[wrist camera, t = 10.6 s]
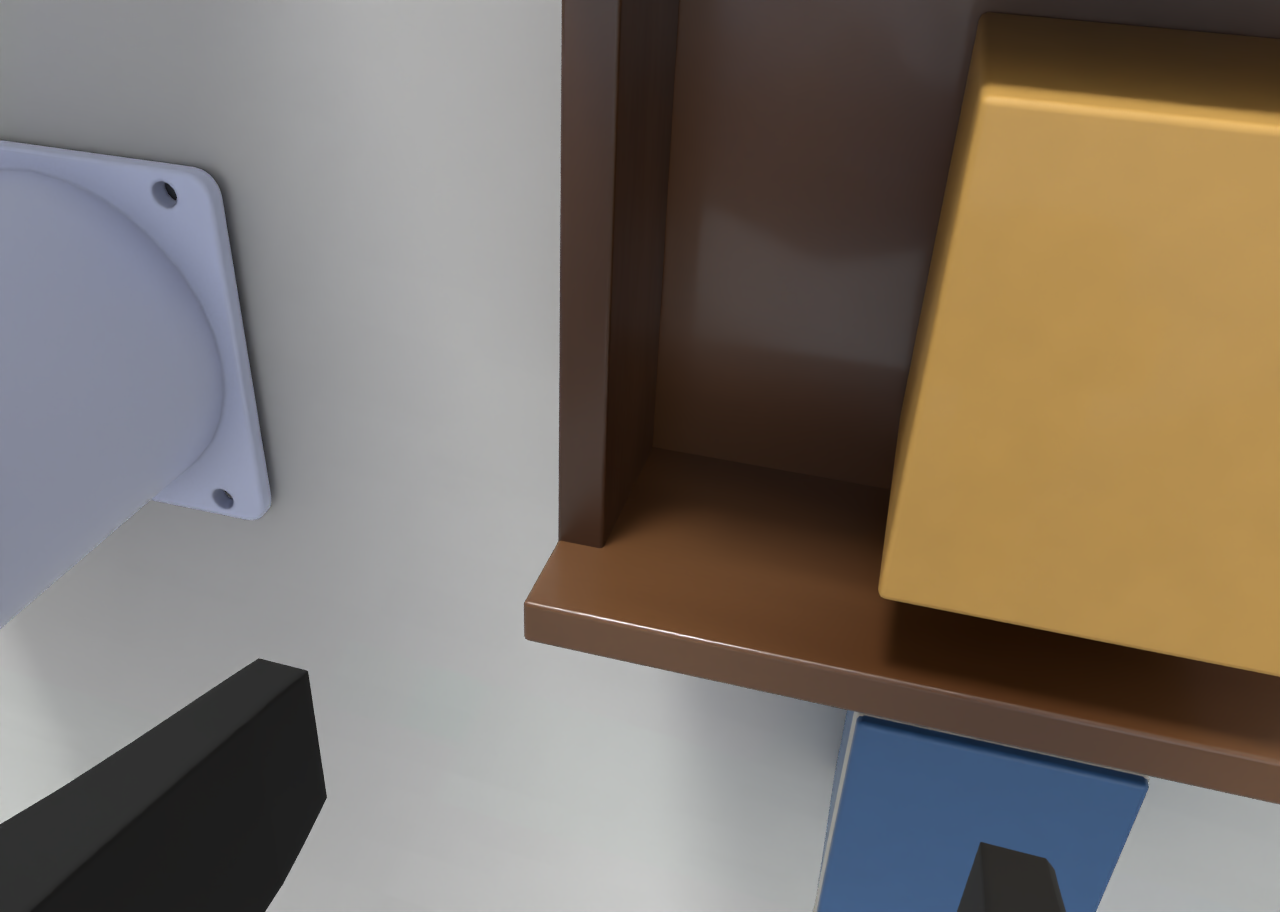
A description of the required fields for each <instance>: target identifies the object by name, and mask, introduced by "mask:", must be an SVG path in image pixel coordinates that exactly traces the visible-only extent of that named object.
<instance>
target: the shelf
mask: <svg viewBox="0 0 1280 912" xmlns="http://www.w3.org/2000/svg"><path fill="white" fill-rule="evenodd" d="M988 12H991V13H1001V14H1012V15H1023V16H1034V17H1045V18H1056V19H1067V20H1077V21H1088V22H1099V23H1110V24H1121V25H1132V26H1143V27H1154V28H1164V29H1175V30H1186V31H1197V32H1208V33H1219V34H1230V35H1240V36H1251V37H1262V38H1273V39H1280V0H562V53H561V215H560V378H559V540H558V543H557V545H556V547H555V549H554V550H553V552H552V554H551V556H550V558H549V559H548V561H547V563H546V565H545V566H544V568H543V570H542V572H541V574H540V575H539V577H538V579H537V581H536V583H535V584H534V586H533V588H532V590H531V592H530V593H529V595H528V597H527V599H526V600H525V602H524V636H525V639H527V640H530V641H534V642H539V643H543V644H548V645H553V646H557V647H562V648H566V649H571V650H575V651H580V652H585V653H589V654H594V655H598V656H603V657H607V658H612V659H617V660H621V661H626V662H630V663H635V664H639V665H644V666H649V667H653V668H658V669H662V670H667V671H672V672H676V673H681V674H685V675H690V676H694V677H699V678H704V679H708V680H713V681H717V682H722V683H726V684H731V685H736V686H740V687H745V688H749V689H754V690H758V691H763V692H768V693H772V694H777V695H781V696H786V697H790V698H795V699H800V700H804V701H809V702H813V703H818V704H823V705H827V706H832V707H836V708H841V709H845V710H850V711H855V712H859V713H864V714H868V715H873V716H877V717H882V718H887V719H891V720H896V721H900V722H905V723H909V724H914V725H919V726H923V727H928V728H932V729H937V730H941V731H946V732H951V733H955V734H960V735H964V736H969V737H974V738H978V739H983V740H987V741H992V742H996V743H1001V744H1006V745H1010V746H1015V747H1019V748H1024V749H1028V750H1033V751H1038V752H1042V753H1047V754H1051V755H1056V756H1060V757H1065V758H1070V759H1074V760H1079V761H1083V762H1088V763H1092V764H1097V765H1102V766H1106V767H1111V768H1115V769H1120V770H1125V771H1129V772H1134V773H1138V774H1143V775H1147V776H1152V777H1157V778H1161V779H1166V780H1170V781H1175V782H1179V783H1184V784H1189V785H1193V786H1198V787H1202V788H1207V789H1211V790H1216V791H1221V792H1225V793H1230V794H1234V795H1239V796H1243V797H1248V798H1253V799H1257V800H1262V801H1266V802H1271V803H1276V804H1280V677H1278V676H1273V675H1268V674H1263V673H1258V672H1253V671H1248V670H1243V669H1238V668H1233V667H1228V666H1223V665H1218V664H1213V663H1207V662H1202V661H1197V660H1192V659H1187V658H1182V657H1177V656H1172V655H1167V654H1162V653H1157V652H1152V651H1147V650H1142V649H1137V648H1132V647H1126V646H1121V645H1116V644H1111V643H1106V642H1101V641H1096V640H1091V639H1086V638H1081V637H1076V636H1071V635H1066V634H1061V633H1056V632H1050V631H1045V630H1040V629H1035V628H1030V627H1025V626H1020V625H1015V624H1010V623H1005V622H1000V621H995V620H990V619H985V618H980V617H975V616H969V615H964V614H959V613H954V612H949V611H944V610H939V609H934V608H929V607H924V606H919V605H914V604H909V603H904V602H899V601H893V600H888V599H884V598H882V597H880V594H879V591H878V586H879V578H880V570H881V562H882V555H883V547H884V539H885V531H886V523H887V516H888V508H889V500H890V492H891V484H892V477H893V469H894V461H895V453H896V445H897V438H898V430H899V422H900V415H901V410H902V405H903V400H904V395H905V390H906V385H907V380H908V375H909V370H910V365H911V360H912V355H913V350H914V345H915V340H916V335H917V329H918V324H919V319H920V314H921V309H922V304H923V299H924V294H925V289H926V284H927V279H928V274H929V269H930V264H931V259H932V254H933V249H934V244H935V239H936V234H937V229H938V224H939V219H940V214H941V209H942V203H943V198H944V193H945V188H946V183H947V178H948V173H949V168H950V163H951V158H952V153H953V148H954V143H955V138H956V133H957V128H958V123H959V118H960V113H961V108H962V103H963V98H964V93H965V88H966V83H967V77H968V72H969V67H970V62H971V57H972V52H973V47H974V42H975V37H976V32H977V27H978V22H979V19H980V17H981V16H982V14H985V13H988Z"/></svg>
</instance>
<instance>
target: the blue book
mask: <svg viewBox="0 0 1280 912" xmlns="http://www.w3.org/2000/svg"><path fill="white" fill-rule="evenodd" d="M1148 782H1149V776H1147V775H1143V774H1138V773H1134V772H1129V771H1125V770H1120V769H1115V768H1111V767H1106V766H1102V765H1097V764H1092V763H1088V762H1083V761H1079V760H1074V759H1070V758H1065V757H1060V756H1056V755H1051V754H1047V753H1042V752H1038V751H1033V750H1028V749H1024V748H1019V747H1015V746H1010V745H1006V744H1001V743H996V742H992V741H987V740H983V739H978V738H974V737H969V736H964V735H960V734H955V733H951V732H946V731H941V730H937V729H932V728H928V727H923V726H919V725H914V724H909V723H905V722H900V721H896V720H891V719H887V718H882V717H877V716H873V715H868V714H864V713H859V712H855V711H850V710H847V714H846V719H845V724H844V729H843V734H842V739H841V744H840V749H839V754H838V759H837V764H836V769H835V776H834V783H833V789H832V796H831V803H830V809H829V816H828V823H827V829H826V836H825V842H824V849H823V856H822V862H821V869H820V876H819V882H818V889H817V894H816V899H815V904H814V909H813V912H957V910H958V907H959V904H960V901H961V898H962V895H963V892H964V889H965V886H966V883H967V880H968V877H969V874H970V871H971V868H972V865H973V862H974V859H975V856H976V853H977V850H978V847H979V844H980V842H984V843H988V844H991V845H995V846H999V847H1003V848H1007V849H1011V850H1015V851H1019V852H1023V853H1027V854H1031V855H1035V856H1039V857H1043V858H1046V859H1047V860H1048V862H1049V863H1050V864H1051V865H1052V867H1053V868H1054V869H1055V873H1056V877H1057V881H1058V885H1059V889H1060V892H1061V896H1062V899H1063V903H1064V906H1065V910H1066V912H1096V910H1097V908H1098V906H1099V903H1100V901H1101V899H1102V896H1103V894H1104V892H1105V889H1106V887H1107V885H1108V882H1109V880H1110V877H1111V875H1112V873H1113V870H1114V868H1115V866H1116V863H1117V861H1118V859H1119V856H1120V854H1121V852H1122V849H1123V847H1124V845H1125V842H1126V840H1127V838H1128V835H1129V833H1130V831H1131V828H1132V826H1133V824H1134V821H1135V819H1136V817H1137V814H1138V812H1139V810H1140V807H1141V805H1142V803H1143V800H1144V798H1145V796H1146V793H1147V791H1148V788H1149V785H1148Z"/></svg>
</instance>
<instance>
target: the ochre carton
mask: <svg viewBox="0 0 1280 912" xmlns="http://www.w3.org/2000/svg"><path fill="white" fill-rule="evenodd" d="M878 591H879V594H880V597H882V598H884V599H888V600H893V601H899V602H904V603H909V604H914V605H919V606H924V607H929V608H934V609H939V610H944V611H949V612H954V613H959V614H964V615H969V616H975V617H980V618H985V619H990V620H995V621H1000V622H1005V623H1010V624H1015V625H1020V626H1025V627H1030V628H1035V629H1040V630H1045V631H1050V632H1056V633H1061V634H1066V635H1071V636H1076V637H1081V638H1086V639H1091V640H1096V641H1101V642H1106V643H1111V644H1116V645H1121V646H1126V647H1132V648H1137V649H1142V650H1147V651H1152V652H1157V653H1162V654H1167V655H1172V656H1177V657H1182V658H1187V659H1192V660H1197V661H1202V662H1207V663H1213V664H1218V665H1223V666H1228V667H1233V668H1238V669H1243V670H1248V671H1253V672H1258V673H1263V674H1268V675H1273V676H1278V677H1280V39H1273V38H1262V37H1251V36H1240V35H1230V34H1219V33H1208V32H1197V31H1186V30H1175V29H1164V28H1154V27H1143V26H1132V25H1121V24H1110V23H1099V22H1088V21H1077V20H1067V19H1056V18H1045V17H1034V16H1023V15H1012V14H1001V13H991V12H988V13H985V14H982V16H981V17H980V19H979V22H978V27H977V32H976V37H975V42H974V47H973V52H972V57H971V62H970V67H969V72H968V77H967V83H966V88H965V93H964V98H963V103H962V108H961V113H960V118H959V123H958V128H957V133H956V138H955V143H954V148H953V153H952V158H951V163H950V168H949V173H948V178H947V183H946V188H945V193H944V198H943V203H942V209H941V214H940V219H939V224H938V229H937V234H936V239H935V244H934V249H933V254H932V259H931V264H930V269H929V274H928V279H927V284H926V289H925V294H924V299H923V304H922V309H921V314H920V319H919V324H918V329H917V335H916V340H915V345H914V350H913V355H912V360H911V365H910V370H909V375H908V380H907V385H906V390H905V395H904V400H903V405H902V410H901V415H900V422H899V430H898V438H897V445H896V453H895V461H894V469H893V477H892V484H891V492H890V500H889V508H888V516H887V523H886V531H885V539H884V547H883V555H882V562H881V570H880V578H879V586H878Z"/></svg>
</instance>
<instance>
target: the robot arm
mask: <svg viewBox="0 0 1280 912" xmlns="http://www.w3.org/2000/svg"><path fill="white" fill-rule="evenodd" d="M165 183H168V184H169V185H170V186H171V187H172V188H173V189H174V191H175V193H176V195H177V201H176V200H174V199H172V198H171V197H170V195H169V194H168V193H167V191H166V188H165ZM224 490H225V491H227V492H228V493H229V494H230V495H231V496H232V498H231V497H229V496H228V495H227V494H226V493H225V492H224ZM150 500H153V501H158V502H163V503H168V504H172V505H177V506H182V507H187V508H192V509H197V510H201V511H206V512H211V513H216V514H221V515H226V516H230V517H235V518H240V519H245V520H256V519H259V518H261V517H262V516H263V515H264V514H265V513H266V512H267V511H268V509H269V508H270V506H271V493H270V486H269V480H268V474H267V468H266V462H265V456H264V450H263V444H262V438H261V431H260V425H259V419H258V413H257V407H256V401H255V395H254V389H253V383H252V376H251V370H250V364H249V358H248V352H247V346H246V340H245V334H244V328H243V321H242V315H241V309H240V303H239V297H238V291H237V285H236V279H235V273H234V266H233V260H232V254H231V248H230V242H229V236H228V230H227V224H226V218H225V211H224V205H223V199H222V195H221V192H220V189H219V186H218V184H217V183H216V182H215V180H214V179H213V177H212V176H210V175H209V174H208V173H207V172H205V171H204V170H202V169H199V168H196V167H192V166H184V165H177V164H170V163H163V162H155V161H148V160H141V159H134V158H126V157H119V156H112V155H105V154H97V153H90V152H83V151H76V150H68V149H61V148H54V147H47V146H39V145H32V144H25V143H18V142H10V141H3V140H0V629H1V628H2V627H3V626H4V625H6V624H7V623H8V622H9V621H10V620H11V619H13V618H14V617H15V616H16V615H17V614H18V613H20V612H21V611H22V610H23V609H24V608H25V607H26V606H28V605H29V604H30V603H31V602H32V601H33V600H35V599H36V598H37V597H38V596H39V595H40V594H42V593H43V592H44V591H45V590H46V589H47V588H49V587H50V586H51V585H52V584H53V583H54V582H56V581H57V580H58V579H59V578H60V577H61V576H63V575H64V574H65V573H66V572H67V571H68V570H70V569H71V568H72V567H73V566H74V565H75V564H77V563H78V562H79V561H80V560H81V559H82V558H84V557H85V556H86V555H87V554H88V553H89V552H90V551H92V550H93V549H94V548H95V547H96V546H97V545H99V544H100V543H101V542H102V541H103V540H104V539H106V538H107V537H108V536H109V535H110V534H111V533H113V532H114V531H115V530H116V529H117V528H118V527H120V526H121V525H122V524H123V523H124V522H125V521H127V520H128V519H129V518H130V517H131V516H132V515H134V514H135V513H136V512H137V511H138V510H139V509H141V508H142V507H143V506H144V505H145V504H146V503H148V502H149V501H150ZM326 798H327V795H326V789H325V782H324V775H323V768H322V762H321V755H320V748H319V742H318V735H317V728H316V722H315V715H314V708H313V702H312V695H311V688H310V682H309V675H308V671H306V670H302V669H298V668H295V667H291V666H287V665H283V664H279V663H275V662H271V661H267V660H263V659H257V660H256V661H254V662H252V663H251V664H249V665H248V666H246V667H245V668H243V669H242V670H240V671H238V672H237V673H235V674H234V675H232V676H231V677H229V678H228V679H226V680H225V681H223V682H222V683H220V684H219V685H217V686H216V687H214V688H213V689H211V690H210V691H208V692H207V693H205V694H204V695H202V696H201V697H199V698H198V699H196V700H195V701H193V702H192V703H190V704H189V705H187V706H186V707H184V708H183V709H181V710H180V711H178V712H177V713H175V714H174V715H172V716H171V717H169V718H168V719H166V720H165V721H163V722H162V723H160V724H159V725H157V726H156V727H154V728H153V729H151V730H150V731H148V732H147V733H145V734H144V735H142V736H141V737H139V738H138V739H136V740H135V741H133V742H132V743H130V744H129V745H127V746H125V747H124V748H122V749H121V750H119V751H118V752H116V753H115V754H113V755H111V756H110V757H108V758H107V759H105V760H104V761H102V762H101V763H99V764H98V765H96V766H94V767H93V768H91V769H90V770H88V771H87V772H85V773H84V774H82V775H80V776H79V777H77V778H76V779H74V780H73V781H71V782H70V783H68V784H67V785H65V786H63V787H62V788H60V789H59V790H57V791H55V792H54V793H52V794H50V795H49V796H47V797H45V798H44V799H42V800H40V801H39V802H37V803H35V804H34V805H32V806H30V807H28V808H27V809H25V810H23V811H22V812H20V813H18V814H17V815H15V816H13V817H12V818H10V819H8V820H7V821H5V822H3V823H2V824H0V912H265V911H266V909H267V908H268V906H269V905H270V903H271V902H272V900H273V898H274V897H275V895H276V894H277V892H278V891H279V889H280V888H281V886H282V885H283V883H284V881H285V879H286V877H287V875H288V873H289V872H290V870H291V868H292V866H293V864H294V862H295V860H296V858H297V856H298V855H299V853H300V851H301V849H302V847H303V845H304V843H305V841H306V839H307V837H308V835H309V833H310V831H311V829H312V827H313V825H314V823H315V821H316V819H317V817H318V815H319V813H320V811H321V809H322V807H323V804H324V802H325V800H326ZM957 912H1066V910H1065V906H1064V903H1063V899H1062V896H1061V892H1060V889H1059V885H1058V881H1057V877H1056V873H1055V869H1054V868H1053V867H1052V865H1051V864H1050V863H1049V862H1048V860H1047V859H1046V858H1043V857H1039V856H1035V855H1031V854H1027V853H1023V852H1019V851H1015V850H1011V849H1007V848H1003V847H999V846H995V845H991V844H988V843H984V842H980V844H979V847H978V850H977V853H976V856H975V859H974V862H973V865H972V868H971V871H970V874H969V877H968V880H967V883H966V886H965V889H964V892H963V895H962V898H961V901H960V904H959V907H958V910H957Z"/></svg>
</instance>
